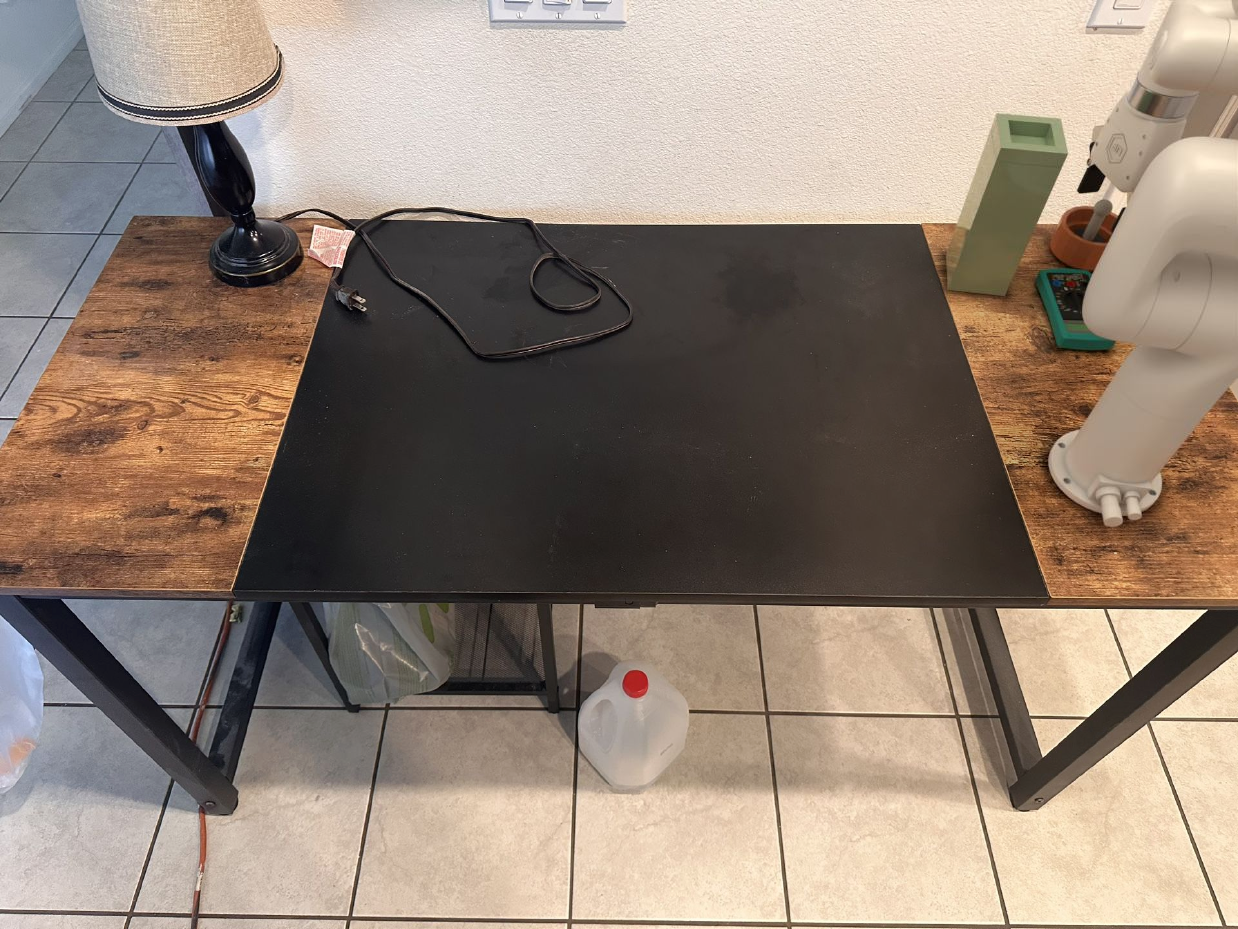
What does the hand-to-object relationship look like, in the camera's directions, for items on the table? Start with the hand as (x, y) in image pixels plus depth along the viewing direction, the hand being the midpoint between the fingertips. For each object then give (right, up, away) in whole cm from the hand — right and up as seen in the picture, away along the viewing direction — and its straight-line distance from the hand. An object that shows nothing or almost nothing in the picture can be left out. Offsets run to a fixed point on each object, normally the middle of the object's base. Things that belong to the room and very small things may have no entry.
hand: (1103, 211), depth 122 cm
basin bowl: (0, -4, +6) cm, 8 cm away
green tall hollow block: (-17, -8, +4) cm, 19 cm away
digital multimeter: (-6, -15, -2) cm, 17 cm away
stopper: (0, -4, +6) cm, 7 cm away
